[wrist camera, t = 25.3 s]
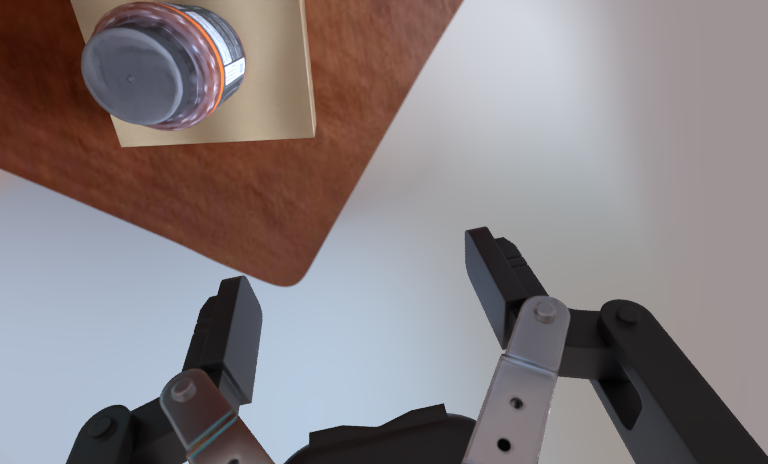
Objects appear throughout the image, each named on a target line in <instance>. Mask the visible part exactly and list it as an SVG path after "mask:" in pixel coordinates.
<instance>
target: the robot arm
mask: <svg viewBox="0 0 768 464" xmlns="http://www.w3.org/2000/svg"><path fill="white" fill-rule="evenodd" d="M465 262H466V269H467V273H468V276H469V278H470V281H471V283H472V285H473V287H474V289H475V291H476V294H477V296H478V298H479V300H480V302H481V305H482V307H483V309H484V311H485V313H486V315H487V318H488V320H489V322H490V324H491V326H492V328H493V330H494V333H495V335H496V337H497V339H498V341H499V343H500V346H501V348H502V350H505V349H506V352H505V354H502V355H501V357H500V359H499V361H498V364H497V367H496V369H495V372H494V375H493V378H492V380H491V383H490V386H489V389H488V392H487V395H486V397H485V400H484V403H483V405H482V408H481V411H480V414H479V416H478V419H477V421H476V420H474V419H471V418H469V417H466V416H462V415H457V414H450V413H446V409H445V406H444V403H443V404H439V405H434V406H429V407H425V408H420V409H416V410H411V411H409V412H407V413H405V414H403V415H401V416H399V417H397V418H395V419H393V420H391V421H389V422H387V423H385V424H384V425H381V426H378V427H365V426H344V425H342V426H338V427H333V428H328V429H324V430H319V431H315V432H310V433H309V444H308V445H306V446H305V447H303V448H301V449H300V450H298V451H297V452H296V453H295V454H293V455H292V456H291V457H290V458H289V459H288V460H287V461H286V462H285V463H284V464H538V460H539V456H540V451H541V447H542V442H543V438H544V433H545V429H546V425H547V421H548V416H549V412H550V408H551V403H552V399H553V395H554V391H555V386H556V382H557V377H558V376H560V377H571V378H581V379H589V380H590V382H591V384H592V385H593V388H594V389H595V391H596V393H597V395H598V397H599V398H600V400H601V401H602V404H603V405H604V407H605V409H606V411H607V413H608V415H609V416H610V418H611V420H612V421H613V424H614V425H615V427H616V429H617V431H618V433H619V434H620V436H621V438H622V440H623V442H624V443H625V445H626V447H627V449H628V451H629V452H630V454H631V456H632V458H633V460H634V461H635V463H636V464H768V456H767V455H766V454H765V453H764V451H763V450H762V449H761V448H760V446H758V444H757V443H756V442H755V440H754V439H753V438H752V437H751V435H749V433H748V432H747V431H746V429H745V428H744V427H743V426H742V424H741V423H740V422H739V421H738V419H737V418H736V417H735V416H734V415H733V413H732V412H731V411H730V410H729V408H728V407H727V406H726V405H725V403H724V402H723V401H722V400H721V399H720V397H719V396H718V395H717V394H716V392H715V391H714V390H713V389H712V388H711V386H710V385H709V384H708V383H707V381H706V380H705V379H704V378H703V377H702V375H701V374H700V373H699V372H698V370H697V369H696V368H695V367H694V365H693V364H692V363H691V362H690V360H689V359H688V358H687V357H686V356H685V354H684V353H683V352H682V351H681V349H680V348H679V347H678V346H677V344H676V343H675V342H674V341H673V340H672V338H671V337H670V336H669V335H668V333H667V332H666V331H665V330H664V329H663V327H662V326H661V325H660V324H659V322H658V321H657V320H656V319H655V317H654V316H653V315H652V314H651V313H650V312H649V311H648V310H647V309H646V308H645V307H643V306H641V305H639V304H637V303H635V302H632V301H628V300H620V299H618V300H612V301H609V302H606V303H605V304H604V305H603V306H602V308H601V310H600V311H587V310H574V309H570V308H567V307H566V306H565V304H563V303H562V302H561V301H559V300H557V299H555V298H552V297H549V295H548V294H547V293H546V291H545V289H544V288H543V287H542V285H541V283H540V282H539V280H538V279H537V277H536V276H535V274H534V273H533V271H532V270H531V268H530V267H529V265H527V262H526V261H525V259H524V258H523V257H522V255H521V253H520V252H519V250H518V249H517V247H516V246H515V245H514V244H513V243H511V242H510V241H508V240H507V239H505V238H504V237H502V238H497V239H494V237H493V236H492V234H491V233H490V231H489V229H488V228H487V227H481V228H475V229H471V230H466V231H465ZM261 326H262V310H261V307H260V304H259V302H258V300H257V298H256V296H255V294H254V292H253V290H252V288H251V286H250V284H249V281H248V279H247V278H246V277H245V276H238V277H234V278H229V279H224V280H222V281H221V284H220V287H219V291H218V294H217V296H212V297H210V298H209V299H208V300H207V302H206V303H205V304H204V305H203V307H202V308H201V310H200V313H199V316H198V320H197V324H196V326H195V330H194V334H193V336H192V339H191V343H190V347H189V349H188V353H187V356H186V359H185V362H184V366H183V369H182V372H181V373H179V374H178V375H176V376H175V377H173V378H172V379H171V380H170V381H169V382H168V383H167V384H166V386H165V387H164V389H163V390H162V393H161V395H160V397H158V398H156V399H155V400H153V401H151V402H149V403H146V404H145V405H143V406H140V407H138V408H136V409H134V410H132V411H130V410H129V409H128V408H126V407H125V406H123V405H113V406H109V407H107V408H104V409H102V410H101V411H99V412H98V413H96V414H95V415H93V416H92V417H91V418H90V419H89V420H88V421H87V422H86V423H85V425H84V426H83V427H82V428H81V430H80V432H79V434H78V436H77V438H76V440H75V443H74V445H73V448H72V450H71V452H70V455H69V457H68V460H67V462H66V464H183V463H184V462H186V461H188V462H189V464H275V463H274V462H273V460H272V459H271V458H270V457H269V455H268V454H267V453H266V451H265V450H264V449H263V447H262V446H261V445H260V443H259V442H258V441H257V439H256V438H255V437H254V435H253V434H252V433H251V431H250V430H249V429H248V427H247V426H246V425H245V424H244V422H243V421H242V420H241V419H240V417H239V416H238V411H239V406H240V405H244V404H249V403H251V402H252V394H253V387H254V380H255V372H256V365H257V357H258V349H259V341H260V334H261Z"/></svg>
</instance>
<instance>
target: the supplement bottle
mask: <svg viewBox="0 0 768 464" xmlns="http://www.w3.org/2000/svg"><path fill="white" fill-rule="evenodd" d="M81 71H82V76H83V79H84V82H85V85H86V87H87V88H88V90H89V92H90V93H91V95H92V96H93V98H94V99H95V100H96V101H97V103H98V104H99V105H100V106H101V107H102V108H104V109H105V110H106V111H107V112H108V113H110V114H112V115H113V116H115V117H116V118H118V119H120V120H122V121H125V122H128V123H131V124H137V125H142V126H145V127H148V128H152V129H156V130H161V131H176V130H183V129H186V128H189V127H192V126H194V125H197V124H198V123H199V122H201V121H203V120H204V119H205V118H206V117H208V116H209V115H211V113H213V112H214V111H215V110H216V109H217V108H218V107H219V106H220V105H222V103H224V102H225V101H226V100H227V99H228V98H230V97H231V96H232V95H233V94H234V93H235V92H236V91H237V90H238V88H239V87H240V85H241V83H242V81H243V79H244V76H245V72H246V54H245V50H244V47H243V44H242V42H241V40H240V38H239V36H238V34H237V33H236V31H235V30H234V29H233V27H232V26H231V25H230V24H229V23H228V22H227V21H226V20H225V19H223V18H222V17H221V16H220V15H218V14H216V13H214V12H212V11H210V10H208V9H205V8H202V7H199V6H194V5H184V4H172V3H158V2H132V3H127V4H123V5H120V6H118V7H116V8H113V9H112V10H110V11H109V12H107V13H106V14H104V15H103V16H102V17H101V19H100V20H99V21H98V22H97V24H96V26H95V27H94V29H93V31H92V34H91V36H90V39H89V40H88V42H87V44H86V45H85V47H84V50H83V52H82V56H81Z"/></svg>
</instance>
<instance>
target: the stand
mask: <svg viewBox="0 0 768 464" xmlns="http://www.w3.org/2000/svg"><path fill="white" fill-rule="evenodd" d="M70 1H71V3H72V6H73V9H74V12H75V15H76V18H77V21H78V24H79V27H80V29H81V32H82V35H83V38H84V41H85V44H87V42H88V40H89V39H90V36H91V34H92V31H93V29H94V27H95V26H96V24H97V22H98V21H99V20H100V19H101V17H102V16H103V15H104V14H106V13H107V12H109V11H110V10H112V9H113V8H116V7H118V6H120V5H123V4H127V3H132V2H158V3H172V4H184V5H194V6H199V7H202V8H205V9H208V10H210V11H212V12H214V13H216V14H218V15H220V16H221V17H222V18H223V19H225V20H226V21H227V22H228V23H229V24H230V25H231V26H232V27H233V29H234V30H235V31H236V33H237V34H238V36H239V38H240V40H241V42H242V44H243V47H244V50H245V54H246V72H245V76H244V79H243V81H242V83H241V85H240V87H239V88H238V90H237V91H236V92H235V93H234V94H233V95H232V96H231V97H230V98H228V99H227V100H226V101H225V102H224V103H222V105H220V106H219V107H218V108H217V109H216V110H215V111H214V112H213V113H211V115H209V116H208V117H206V118H205V119H204V120H203V121H201V122H199V123H198V124H197V125H194V126H192V127H189V128H186V129H183V130H176V131H161V130H156V129H152V128H148V127H145V126H142V125H137V124H131V123H128V122H125V121H122V120H120V119H118V118H116V117H115V116H113V115H112V114H110V116H111V119H112V122H113V124H114V127H115V130H116V133H117V136H118V139H119V142H120V145H121V147H133V146H153V145H173V144H193V143H213V142H233V141H253V140H273V139H293V138H313V137H314V136H315V128H316V113H315V103H314V93H313V83H312V73H311V63H310V53H309V43H308V33H307V23H306V13H305V3H304V0H70Z"/></svg>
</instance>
